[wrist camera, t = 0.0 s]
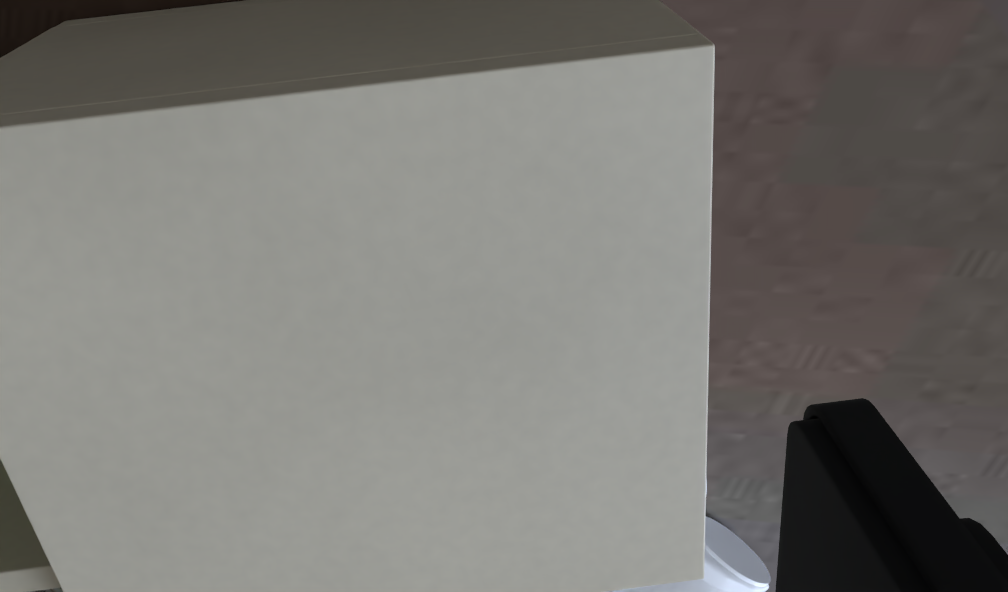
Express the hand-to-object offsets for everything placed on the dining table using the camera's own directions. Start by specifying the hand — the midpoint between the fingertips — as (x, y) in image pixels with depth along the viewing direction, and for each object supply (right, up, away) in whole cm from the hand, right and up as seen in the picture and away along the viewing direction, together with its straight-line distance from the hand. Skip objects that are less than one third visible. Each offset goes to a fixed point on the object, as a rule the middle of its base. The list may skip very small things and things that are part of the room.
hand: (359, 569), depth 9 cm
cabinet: (-3, +6, +20) cm, 21 cm away
